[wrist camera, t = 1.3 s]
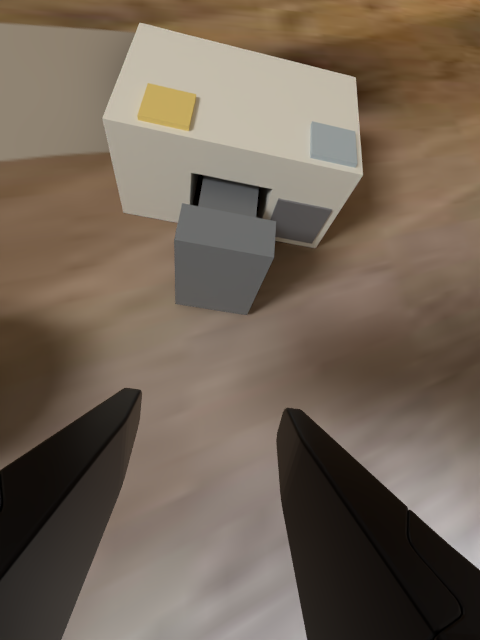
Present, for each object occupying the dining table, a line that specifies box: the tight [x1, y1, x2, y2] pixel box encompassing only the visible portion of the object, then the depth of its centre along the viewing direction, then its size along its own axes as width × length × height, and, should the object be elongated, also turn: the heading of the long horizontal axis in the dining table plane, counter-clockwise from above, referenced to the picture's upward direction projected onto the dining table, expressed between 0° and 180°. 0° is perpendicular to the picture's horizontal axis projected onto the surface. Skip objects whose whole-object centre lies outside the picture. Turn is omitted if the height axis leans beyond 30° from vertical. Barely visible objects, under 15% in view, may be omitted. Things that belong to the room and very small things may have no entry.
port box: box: [103, 23, 363, 248], centre depth 25 cm, size 10×16×8 cm, turn 84°
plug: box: [174, 175, 276, 315], centre depth 22 cm, size 9×5×8 cm, turn 174°
